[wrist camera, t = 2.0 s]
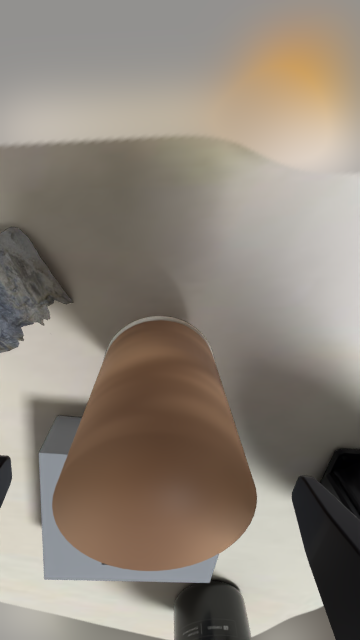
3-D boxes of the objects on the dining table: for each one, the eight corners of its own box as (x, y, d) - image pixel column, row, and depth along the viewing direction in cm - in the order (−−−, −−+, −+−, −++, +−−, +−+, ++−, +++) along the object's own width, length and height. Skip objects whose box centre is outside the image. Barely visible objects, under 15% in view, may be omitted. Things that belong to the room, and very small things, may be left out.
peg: (215, 305, 16) (283, 439, 7) (198, 387, 18) (234, 574, 9) (116, 292, 16) (47, 421, 6) (110, 378, 18) (51, 569, 8)
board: (235, 429, 20) (247, 466, 17) (204, 539, 24) (209, 582, 21) (57, 415, 19) (38, 452, 16) (58, 533, 23) (44, 579, 20)
